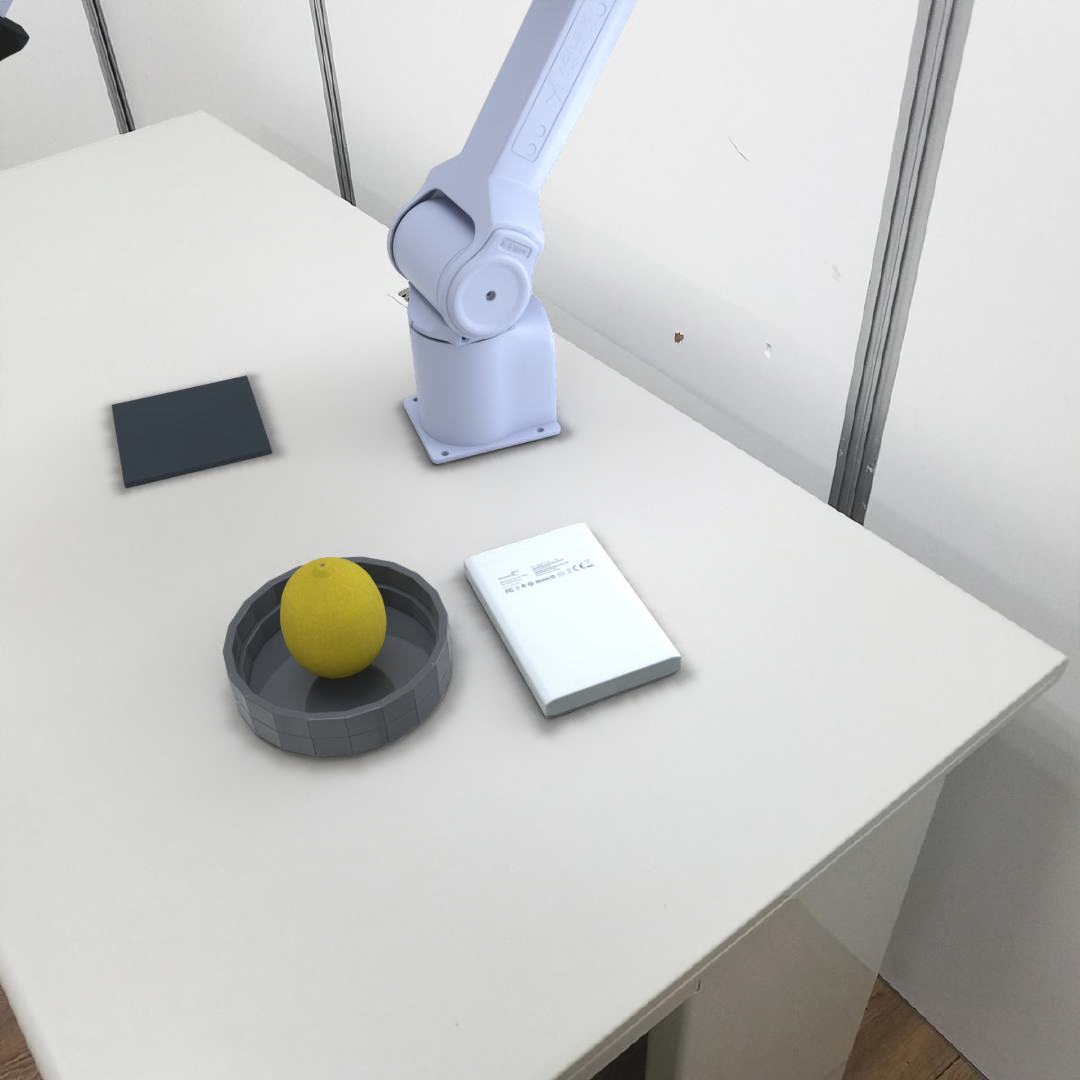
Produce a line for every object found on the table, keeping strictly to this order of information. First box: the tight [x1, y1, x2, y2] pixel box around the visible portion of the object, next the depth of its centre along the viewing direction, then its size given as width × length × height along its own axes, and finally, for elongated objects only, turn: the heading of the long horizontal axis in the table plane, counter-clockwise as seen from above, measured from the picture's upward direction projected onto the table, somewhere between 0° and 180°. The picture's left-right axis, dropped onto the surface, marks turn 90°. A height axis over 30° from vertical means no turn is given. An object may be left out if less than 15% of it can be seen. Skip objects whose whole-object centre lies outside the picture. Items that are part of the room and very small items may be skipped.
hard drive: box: [462, 522, 682, 719], centre depth 64 cm, size 2×8×12 cm
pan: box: [222, 556, 453, 757], centre depth 61 cm, size 12×12×3 cm
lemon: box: [280, 556, 386, 679], centre depth 59 cm, size 6×6×8 cm
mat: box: [111, 375, 273, 488], centre depth 80 cm, size 10×10×1 cm
